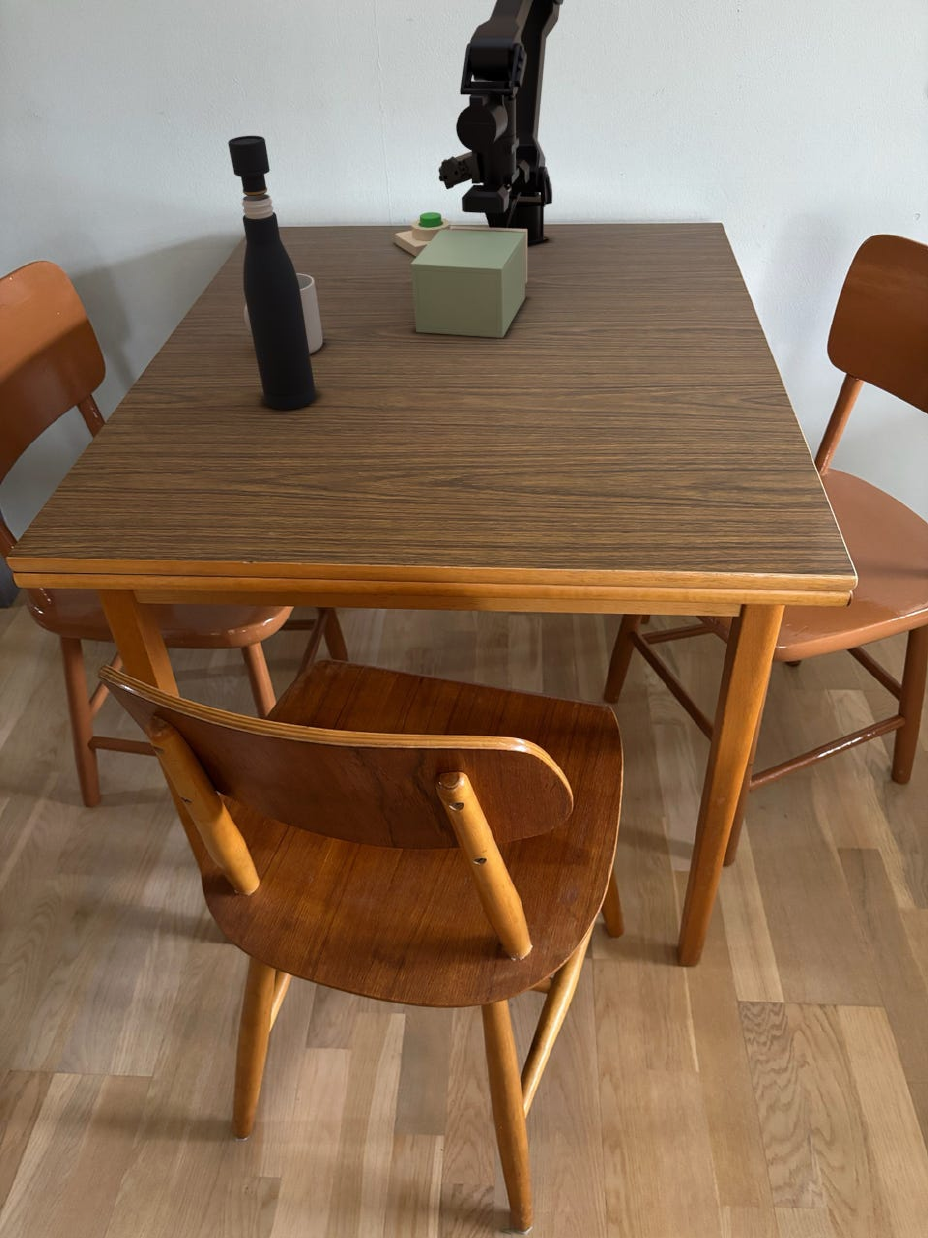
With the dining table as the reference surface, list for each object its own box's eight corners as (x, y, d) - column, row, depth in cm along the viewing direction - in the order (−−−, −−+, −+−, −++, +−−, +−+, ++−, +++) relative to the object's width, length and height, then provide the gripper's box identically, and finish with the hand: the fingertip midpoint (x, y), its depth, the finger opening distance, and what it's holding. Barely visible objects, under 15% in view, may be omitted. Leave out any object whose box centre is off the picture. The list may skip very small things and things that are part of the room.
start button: (435, 221, 164) (435, 210, 162) (445, 226, 161) (444, 215, 160) (416, 225, 162) (416, 214, 161) (426, 230, 160) (425, 219, 159)
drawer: (462, 268, 151) (459, 217, 146) (532, 272, 149) (532, 220, 144) (430, 310, 139) (427, 256, 134) (507, 315, 136) (506, 260, 131)
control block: (447, 232, 168) (446, 212, 166) (468, 245, 163) (468, 223, 160) (395, 243, 165) (394, 222, 162) (416, 256, 159) (414, 235, 157)
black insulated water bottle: (274, 415, 117) (225, 150, 98) (258, 394, 122) (208, 138, 103) (323, 402, 119) (285, 140, 100) (305, 382, 124) (265, 129, 105)
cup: (325, 354, 131) (316, 289, 125) (252, 363, 129) (239, 298, 124) (321, 333, 136) (312, 270, 130) (250, 342, 135) (238, 279, 129)
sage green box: (444, 293, 146) (440, 229, 140) (524, 298, 143) (524, 232, 137) (415, 332, 135) (410, 263, 129) (502, 338, 132) (501, 268, 126)
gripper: (459, 118, 147) (463, 223, 157) (424, 148, 134) (431, 261, 143) (530, 119, 145) (529, 225, 155) (502, 150, 131) (503, 265, 141)
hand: (498, 243), depth 148 cm, fingers closed
